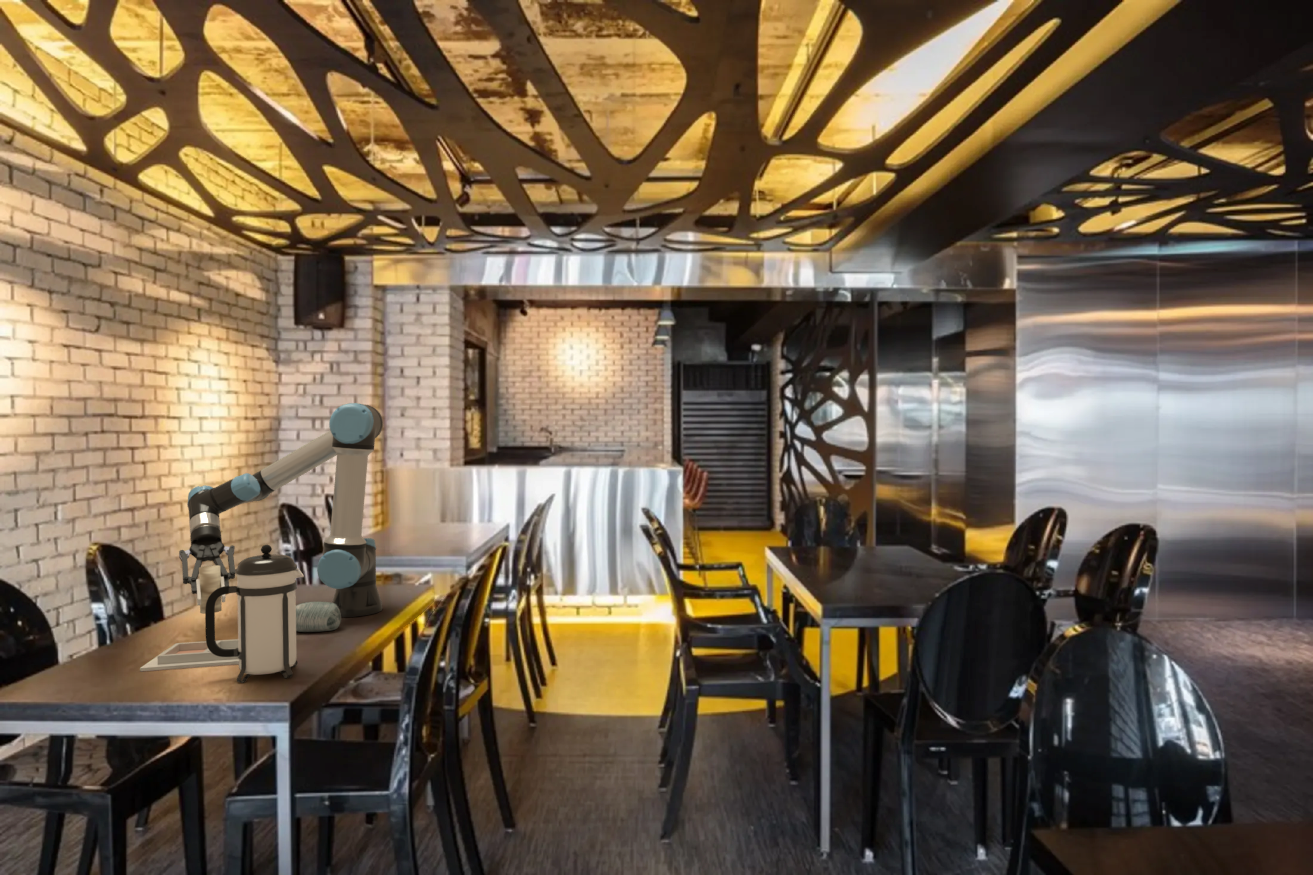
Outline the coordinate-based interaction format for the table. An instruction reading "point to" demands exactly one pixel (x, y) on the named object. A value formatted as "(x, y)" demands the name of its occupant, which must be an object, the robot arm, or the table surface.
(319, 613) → the yarn ball
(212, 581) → the peg
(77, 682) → the table surface
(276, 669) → the coffee press
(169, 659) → the white flat tray
